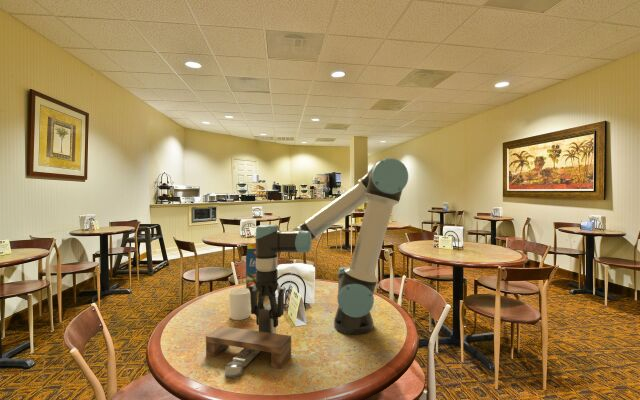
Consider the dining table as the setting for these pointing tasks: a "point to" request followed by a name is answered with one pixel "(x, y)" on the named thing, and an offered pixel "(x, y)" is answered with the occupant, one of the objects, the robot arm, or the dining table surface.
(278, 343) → the riser
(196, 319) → the dining table surface
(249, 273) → the blue food package
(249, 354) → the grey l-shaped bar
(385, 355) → the dining table surface
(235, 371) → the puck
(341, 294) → the robot arm
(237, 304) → the mug
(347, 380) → the dining table surface
